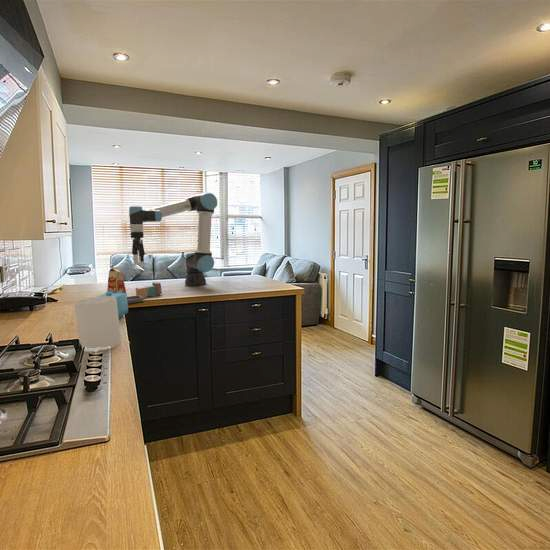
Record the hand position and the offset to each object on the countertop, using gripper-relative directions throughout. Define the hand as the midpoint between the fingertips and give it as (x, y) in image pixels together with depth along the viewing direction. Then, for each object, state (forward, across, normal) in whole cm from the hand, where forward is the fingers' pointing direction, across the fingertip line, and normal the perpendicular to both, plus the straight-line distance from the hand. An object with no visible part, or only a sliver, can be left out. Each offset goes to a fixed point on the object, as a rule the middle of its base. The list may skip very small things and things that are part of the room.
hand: (139, 265), depth 241 cm
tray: (+20, +12, -8) cm, 25 cm away
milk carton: (+20, -9, -12) cm, 25 cm away
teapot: (+21, +47, -26) cm, 57 cm away
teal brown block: (+19, +2, +7) cm, 21 cm away
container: (+21, +88, -39) cm, 99 cm away
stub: (+20, +2, 0) cm, 20 cm away
